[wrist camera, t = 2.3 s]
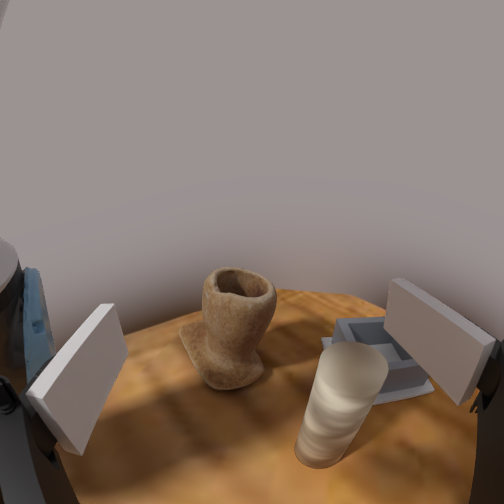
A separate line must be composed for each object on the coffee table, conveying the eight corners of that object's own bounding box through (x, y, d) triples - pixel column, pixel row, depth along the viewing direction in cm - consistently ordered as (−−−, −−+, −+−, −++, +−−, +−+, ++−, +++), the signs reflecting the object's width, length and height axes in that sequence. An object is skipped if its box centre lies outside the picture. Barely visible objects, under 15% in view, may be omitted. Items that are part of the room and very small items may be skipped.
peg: (296, 471, 22) (327, 393, 17) (292, 431, 28) (314, 342, 23) (347, 465, 22) (398, 383, 17) (338, 427, 28) (374, 339, 23)
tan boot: (284, 376, 37) (296, 289, 32) (209, 402, 32) (199, 312, 27) (240, 324, 50) (241, 249, 45) (178, 339, 45) (169, 259, 39)
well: (341, 409, 31) (352, 383, 29) (320, 339, 46) (326, 313, 44) (433, 392, 31) (448, 366, 29) (397, 334, 46) (405, 310, 44)
